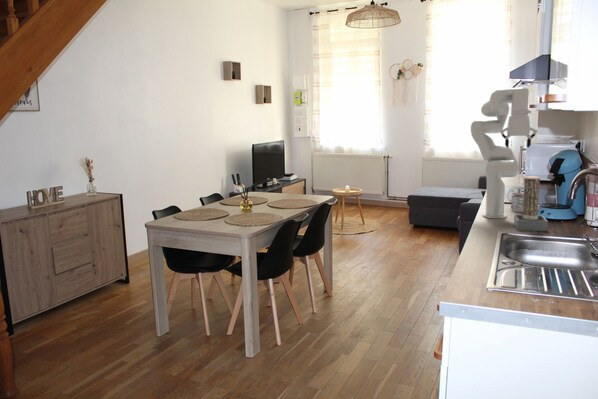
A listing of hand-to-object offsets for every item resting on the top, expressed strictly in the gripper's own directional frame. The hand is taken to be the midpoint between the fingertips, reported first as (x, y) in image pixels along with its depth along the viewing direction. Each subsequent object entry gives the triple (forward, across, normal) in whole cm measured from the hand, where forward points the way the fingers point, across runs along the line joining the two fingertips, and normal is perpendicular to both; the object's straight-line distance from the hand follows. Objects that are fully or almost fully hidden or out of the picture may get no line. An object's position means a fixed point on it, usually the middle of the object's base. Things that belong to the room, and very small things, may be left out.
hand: (517, 147), depth 249 cm
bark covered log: (+40, -7, +5) cm, 41 cm away
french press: (+41, -6, -43) cm, 59 cm away
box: (+40, -7, +6) cm, 41 cm away
